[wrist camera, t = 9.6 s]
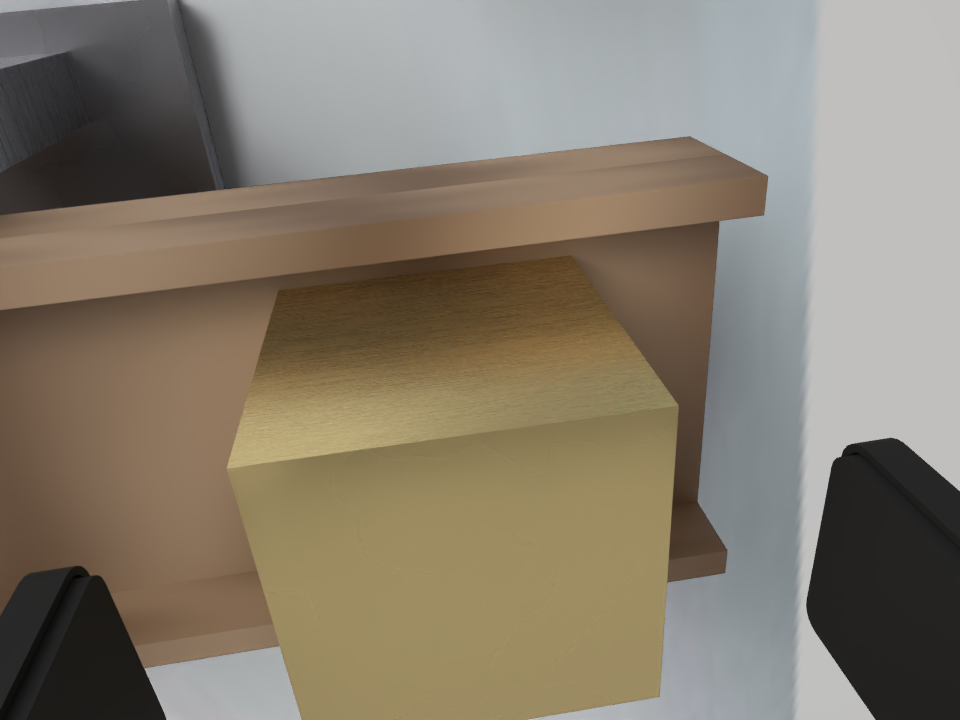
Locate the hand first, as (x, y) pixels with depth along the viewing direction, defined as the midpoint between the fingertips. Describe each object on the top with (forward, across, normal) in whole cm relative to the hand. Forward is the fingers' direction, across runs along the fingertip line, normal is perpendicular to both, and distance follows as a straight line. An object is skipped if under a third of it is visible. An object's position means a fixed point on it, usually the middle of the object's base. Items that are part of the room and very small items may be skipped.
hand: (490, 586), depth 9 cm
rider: (+5, 0, 0) cm, 5 cm away
